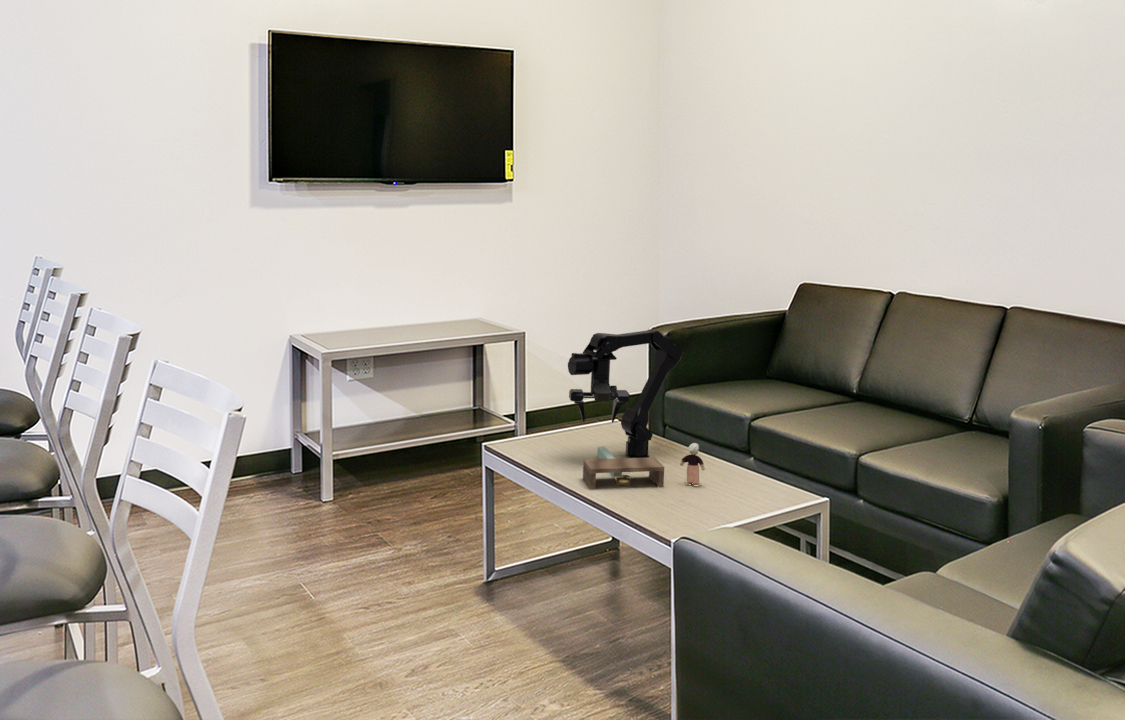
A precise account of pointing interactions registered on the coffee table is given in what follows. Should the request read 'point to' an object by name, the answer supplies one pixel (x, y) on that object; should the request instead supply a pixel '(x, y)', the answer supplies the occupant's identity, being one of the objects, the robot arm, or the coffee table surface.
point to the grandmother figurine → (693, 464)
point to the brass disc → (622, 479)
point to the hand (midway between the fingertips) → (598, 422)
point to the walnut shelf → (622, 468)
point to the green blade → (606, 457)
